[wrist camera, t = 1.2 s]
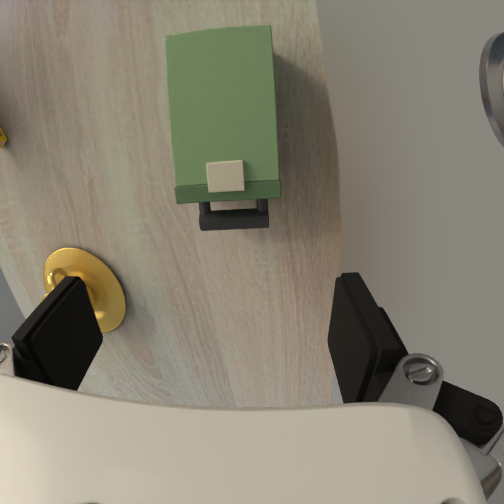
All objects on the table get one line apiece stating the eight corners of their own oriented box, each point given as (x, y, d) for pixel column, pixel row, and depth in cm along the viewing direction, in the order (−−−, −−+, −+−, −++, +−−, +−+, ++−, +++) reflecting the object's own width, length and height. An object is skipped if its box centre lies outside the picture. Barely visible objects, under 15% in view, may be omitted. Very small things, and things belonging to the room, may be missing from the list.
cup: (141, 328, 35) (127, 358, 30) (69, 332, 36) (52, 357, 31) (104, 237, 30) (80, 261, 25) (32, 254, 31) (7, 275, 26)
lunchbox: (272, 22, 15) (282, 245, 22) (268, 48, 22) (276, 213, 28) (161, 34, 16) (181, 249, 22) (186, 55, 22) (199, 217, 29)
